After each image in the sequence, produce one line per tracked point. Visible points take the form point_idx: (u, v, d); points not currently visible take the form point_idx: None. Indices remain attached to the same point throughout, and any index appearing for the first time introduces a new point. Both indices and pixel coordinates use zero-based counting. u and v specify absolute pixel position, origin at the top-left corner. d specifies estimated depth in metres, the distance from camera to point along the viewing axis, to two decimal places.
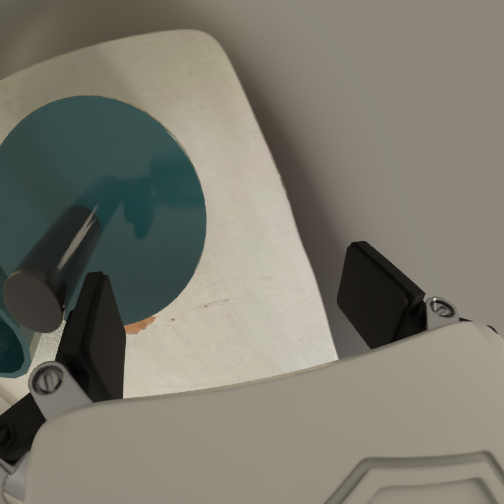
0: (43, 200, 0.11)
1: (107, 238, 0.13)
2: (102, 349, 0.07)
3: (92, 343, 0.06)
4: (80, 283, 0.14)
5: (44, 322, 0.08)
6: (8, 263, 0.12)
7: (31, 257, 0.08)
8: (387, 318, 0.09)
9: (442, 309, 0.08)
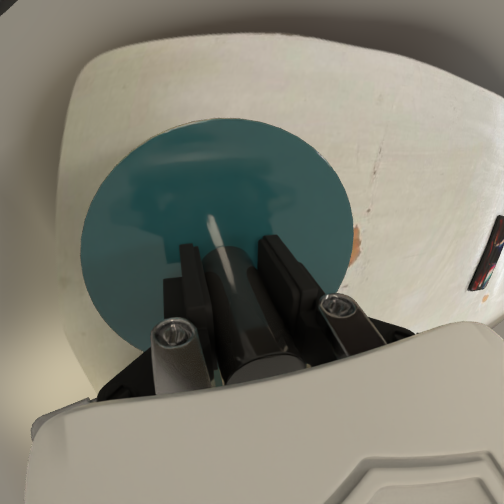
0: None
1: (251, 245, 0.13)
2: None
3: (209, 299, 0.08)
4: None
5: None
6: None
7: (219, 352, 0.08)
8: (284, 313, 0.09)
9: (338, 305, 0.08)
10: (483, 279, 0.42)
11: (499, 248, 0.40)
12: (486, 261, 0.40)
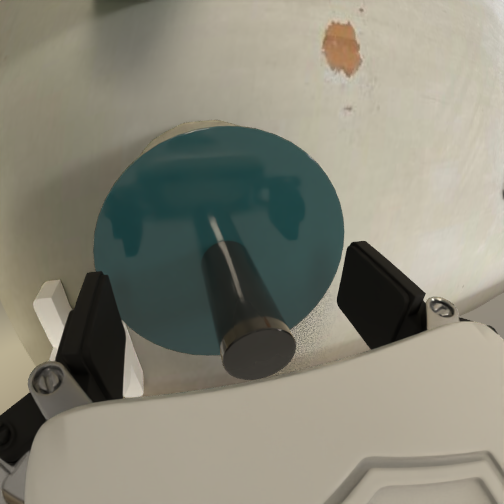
0: (182, 286, 0.14)
1: (249, 240, 0.14)
2: (102, 349, 0.07)
3: (92, 343, 0.06)
4: (277, 288, 0.15)
5: (283, 352, 0.09)
6: None
7: (219, 330, 0.09)
8: (387, 318, 0.09)
9: (442, 309, 0.08)
10: None
11: None
12: None
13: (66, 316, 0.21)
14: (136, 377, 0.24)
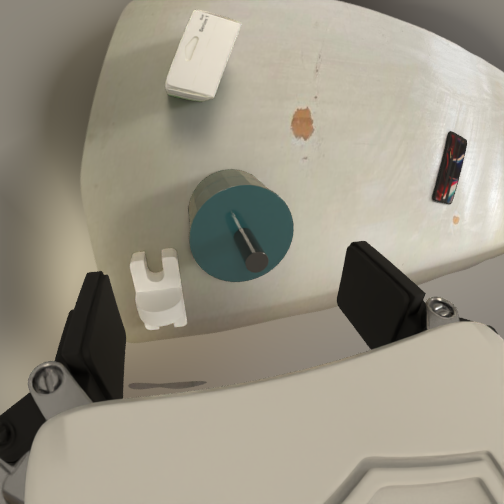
0: (225, 246, 0.35)
1: (252, 227, 0.35)
2: (102, 349, 0.07)
3: (92, 343, 0.06)
4: (264, 248, 0.36)
5: (264, 261, 0.30)
6: (239, 277, 0.37)
7: (243, 255, 0.30)
8: (387, 318, 0.09)
9: (442, 309, 0.08)
10: (446, 191, 0.50)
11: (458, 164, 0.48)
12: (445, 172, 0.48)
13: (147, 272, 0.42)
14: (184, 310, 0.45)
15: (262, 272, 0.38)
